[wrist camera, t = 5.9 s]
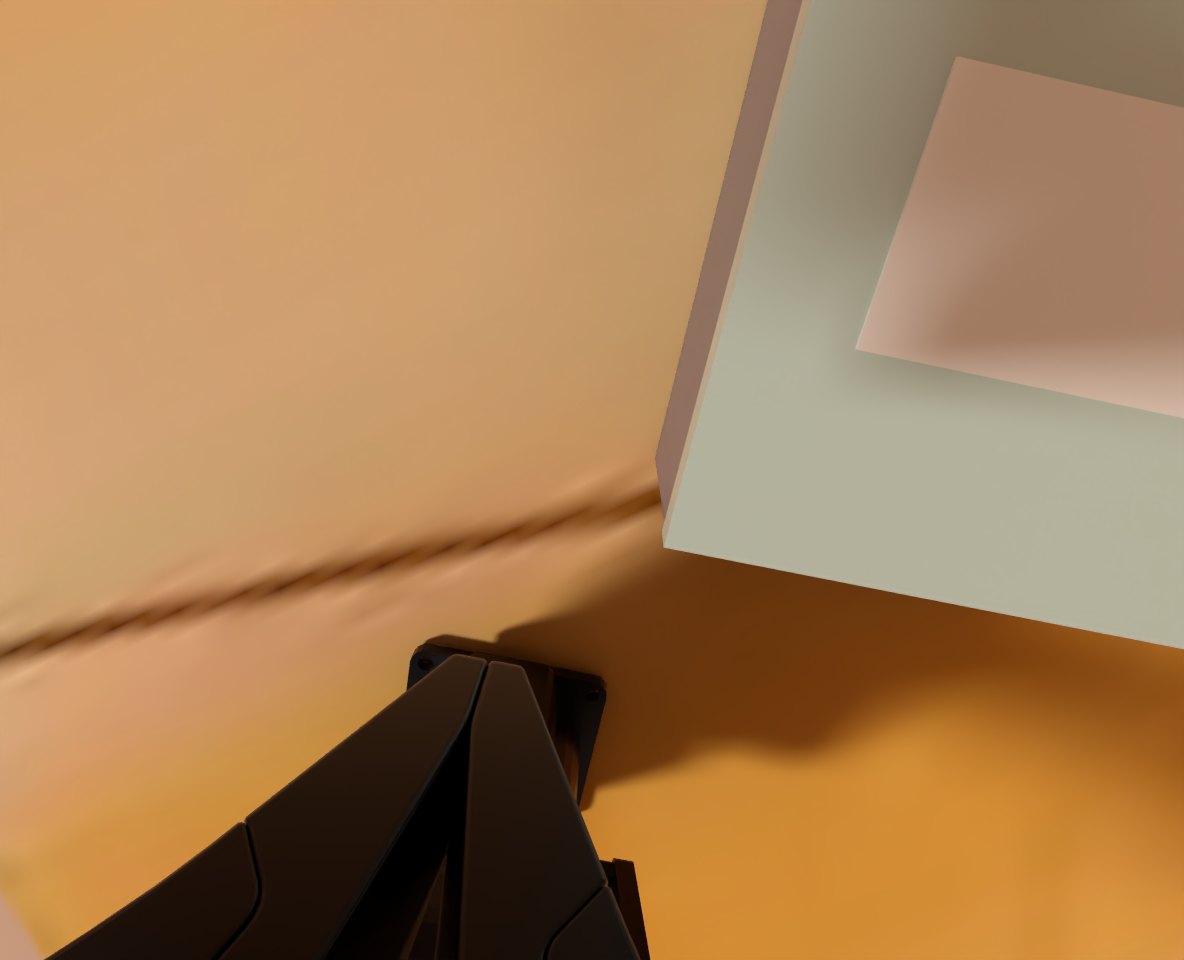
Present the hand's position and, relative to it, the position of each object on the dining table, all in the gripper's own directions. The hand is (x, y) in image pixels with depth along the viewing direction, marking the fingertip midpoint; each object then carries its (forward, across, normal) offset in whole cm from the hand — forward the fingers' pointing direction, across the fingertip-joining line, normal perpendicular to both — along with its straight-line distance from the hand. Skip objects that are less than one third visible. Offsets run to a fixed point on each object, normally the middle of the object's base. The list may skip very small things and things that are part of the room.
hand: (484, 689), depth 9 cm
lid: (+8, -9, -5) cm, 13 cm away
